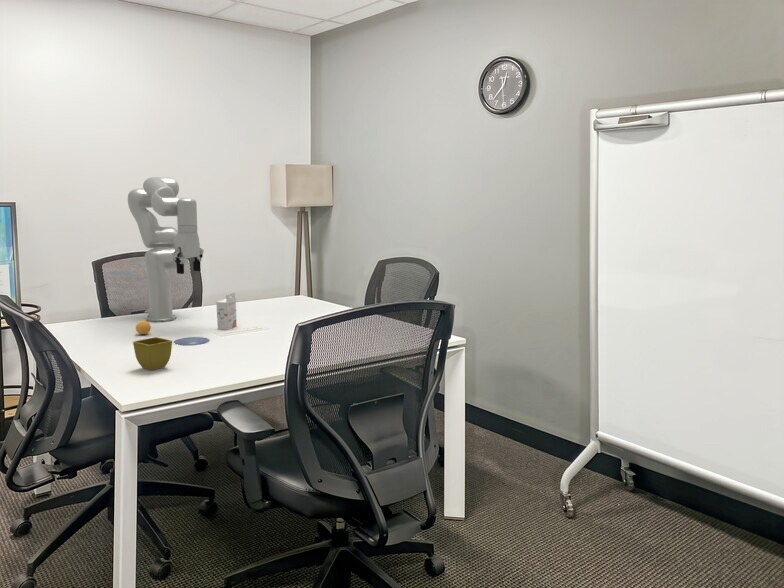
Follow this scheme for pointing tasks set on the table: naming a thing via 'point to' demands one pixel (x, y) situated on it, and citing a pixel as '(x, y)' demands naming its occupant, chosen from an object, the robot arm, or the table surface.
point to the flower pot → (153, 352)
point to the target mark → (191, 341)
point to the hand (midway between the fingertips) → (188, 272)
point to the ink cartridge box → (226, 312)
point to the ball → (143, 327)
